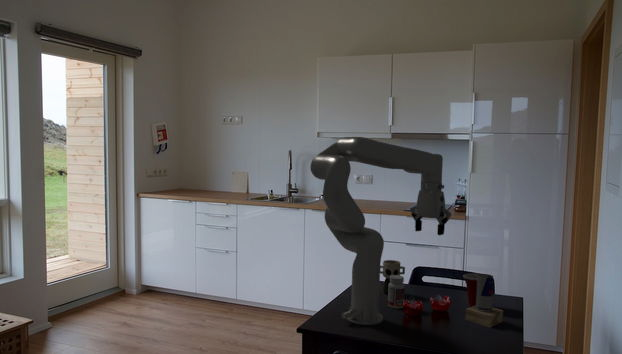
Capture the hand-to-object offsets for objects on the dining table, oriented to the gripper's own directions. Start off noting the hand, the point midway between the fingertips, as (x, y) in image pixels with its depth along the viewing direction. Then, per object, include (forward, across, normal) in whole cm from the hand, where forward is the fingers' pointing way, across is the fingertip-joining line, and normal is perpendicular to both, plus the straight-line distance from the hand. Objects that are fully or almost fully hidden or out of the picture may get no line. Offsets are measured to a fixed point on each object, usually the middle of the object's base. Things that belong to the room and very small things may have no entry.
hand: (429, 232), depth 177 cm
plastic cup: (+28, -11, -17) cm, 35 cm away
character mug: (+28, +20, -4) cm, 35 cm away
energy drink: (+24, -21, -4) cm, 32 cm away
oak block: (+28, -21, -4) cm, 35 cm away
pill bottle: (+28, +8, +8) cm, 31 cm away
